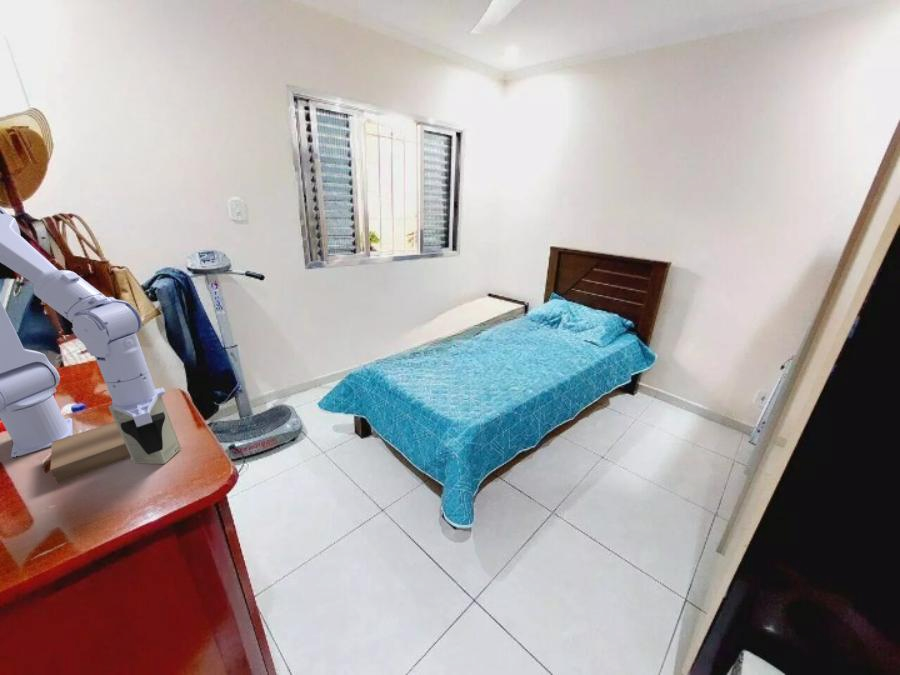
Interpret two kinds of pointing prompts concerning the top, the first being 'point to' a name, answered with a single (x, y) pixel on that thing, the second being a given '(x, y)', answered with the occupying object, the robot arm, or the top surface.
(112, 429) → the block
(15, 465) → the top surface
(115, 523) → the top surface
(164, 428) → the skincare box
